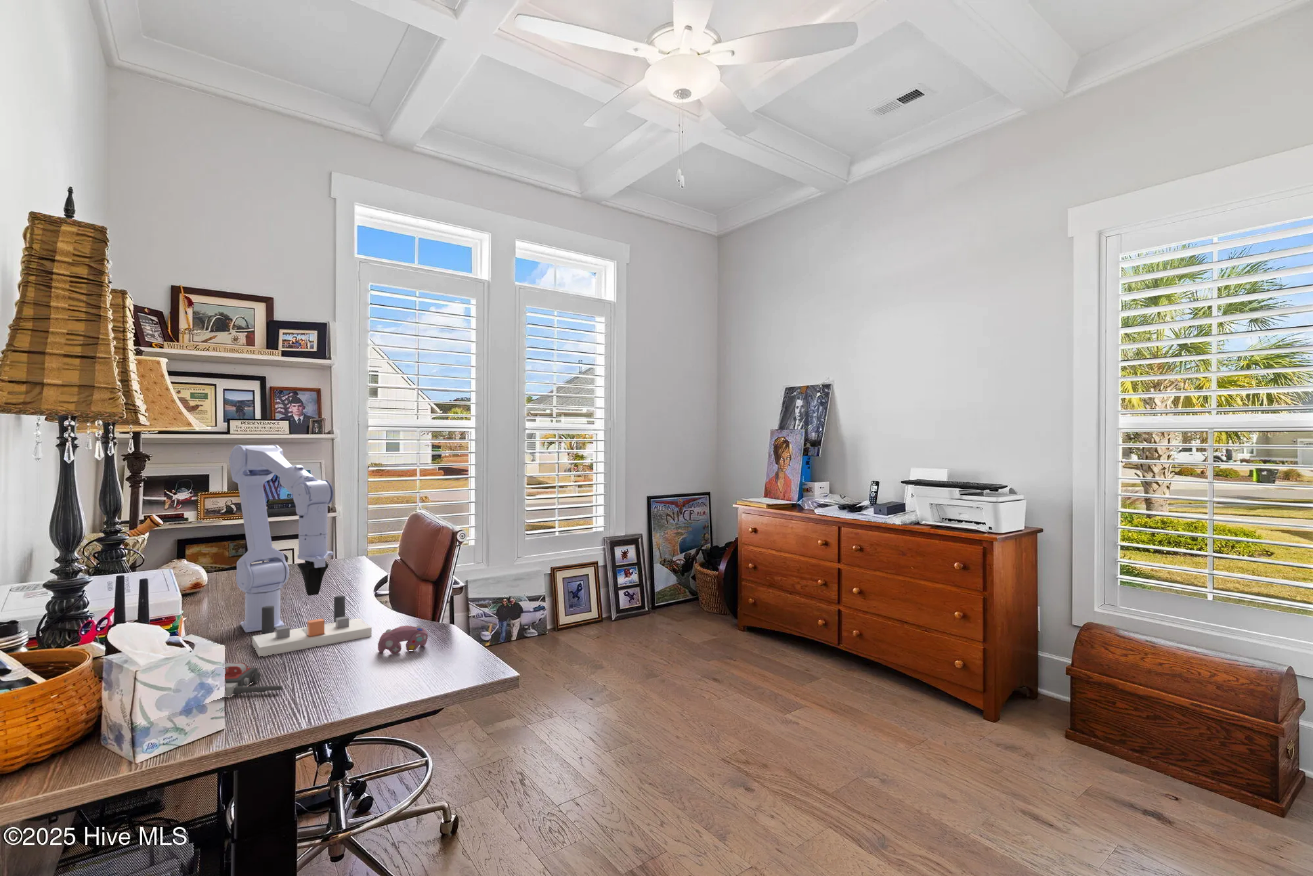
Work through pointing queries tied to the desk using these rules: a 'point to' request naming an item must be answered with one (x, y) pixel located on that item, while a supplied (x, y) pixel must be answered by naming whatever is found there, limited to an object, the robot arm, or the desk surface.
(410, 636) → the video game controller
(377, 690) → the desk surface
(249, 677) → the toy chainsaw
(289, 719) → the desk surface
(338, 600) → the post
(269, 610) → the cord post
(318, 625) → the slide switch
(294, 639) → the off-white rectangular base
